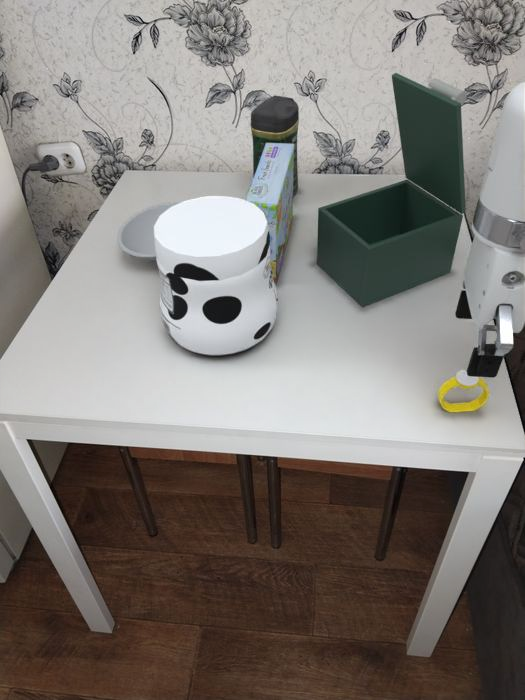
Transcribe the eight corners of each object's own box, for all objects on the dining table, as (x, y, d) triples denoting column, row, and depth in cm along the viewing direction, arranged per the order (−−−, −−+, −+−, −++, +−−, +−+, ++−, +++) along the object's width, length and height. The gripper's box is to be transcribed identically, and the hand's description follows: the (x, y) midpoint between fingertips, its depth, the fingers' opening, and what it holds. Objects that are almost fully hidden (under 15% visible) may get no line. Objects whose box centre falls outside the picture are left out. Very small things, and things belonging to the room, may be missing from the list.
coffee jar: (285, 211, 114) (284, 115, 101) (248, 203, 116) (242, 109, 103) (303, 187, 120) (305, 94, 107) (268, 181, 123) (265, 89, 110)
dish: (177, 288, 97) (173, 264, 94) (104, 270, 102) (97, 246, 98) (223, 233, 109) (221, 209, 105) (156, 219, 113) (152, 196, 110)
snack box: (280, 286, 97) (278, 204, 86) (246, 283, 98) (241, 202, 87) (295, 217, 112) (295, 141, 101) (265, 216, 113) (263, 140, 102)
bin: (362, 307, 92) (368, 249, 85) (316, 263, 101) (318, 207, 93) (450, 272, 98) (463, 215, 90) (399, 234, 107) (407, 179, 99)
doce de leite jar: (296, 307, 93) (296, 205, 80) (245, 381, 82) (237, 276, 69) (201, 281, 99) (188, 182, 86) (142, 346, 88) (117, 243, 75)
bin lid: (456, 106, 76) (486, 86, 77) (391, 75, 85) (419, 57, 85) (461, 214, 90) (487, 197, 90) (405, 178, 99) (429, 162, 99)
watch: (479, 400, 78) (490, 368, 74) (485, 416, 76) (496, 384, 72) (433, 401, 78) (441, 369, 74) (438, 417, 76) (446, 385, 72)
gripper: (579, 274, 51) (522, 403, 63) (534, 175, 63) (494, 299, 75) (490, 270, 51) (450, 398, 63) (462, 173, 64) (433, 296, 76)
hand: (474, 344), depth 69 cm, fingers open, 9 cm apart
